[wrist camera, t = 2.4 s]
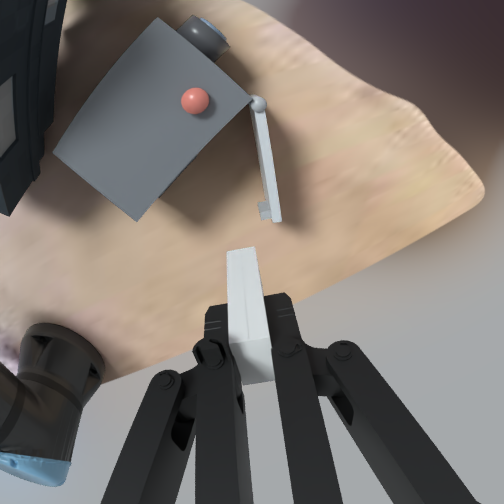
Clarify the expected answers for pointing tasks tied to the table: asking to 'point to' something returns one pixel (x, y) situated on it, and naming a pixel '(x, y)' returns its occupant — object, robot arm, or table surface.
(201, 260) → the table surface
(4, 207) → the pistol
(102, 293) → the table surface
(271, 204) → the door
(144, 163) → the camera body
